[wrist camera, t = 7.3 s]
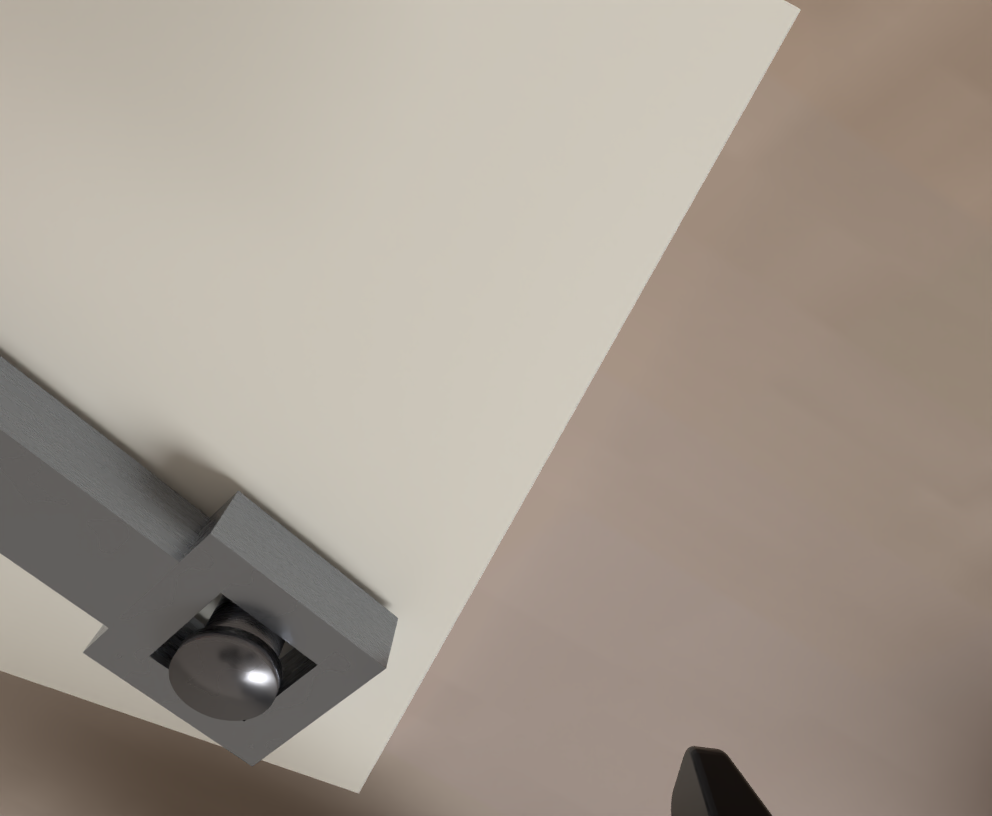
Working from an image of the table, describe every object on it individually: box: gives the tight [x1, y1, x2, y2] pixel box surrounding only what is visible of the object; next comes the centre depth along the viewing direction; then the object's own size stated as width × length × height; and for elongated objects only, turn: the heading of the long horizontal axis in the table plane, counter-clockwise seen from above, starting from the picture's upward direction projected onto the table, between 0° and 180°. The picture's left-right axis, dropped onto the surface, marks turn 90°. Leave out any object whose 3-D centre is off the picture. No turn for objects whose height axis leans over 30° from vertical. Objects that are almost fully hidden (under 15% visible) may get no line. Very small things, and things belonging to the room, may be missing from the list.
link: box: [0, 356, 398, 766], centre depth 18 cm, size 19×5×2 cm, turn 44°
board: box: [0, 0, 801, 793], centre depth 18 cm, size 24×25×1 cm
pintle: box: [169, 595, 285, 721], centre depth 20 cm, size 3×3×4 cm
